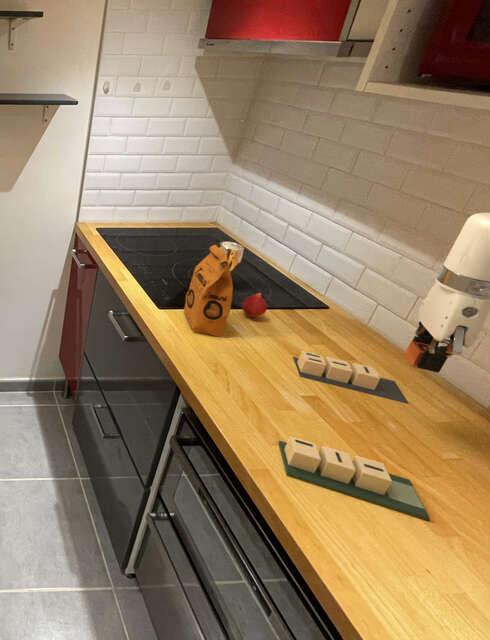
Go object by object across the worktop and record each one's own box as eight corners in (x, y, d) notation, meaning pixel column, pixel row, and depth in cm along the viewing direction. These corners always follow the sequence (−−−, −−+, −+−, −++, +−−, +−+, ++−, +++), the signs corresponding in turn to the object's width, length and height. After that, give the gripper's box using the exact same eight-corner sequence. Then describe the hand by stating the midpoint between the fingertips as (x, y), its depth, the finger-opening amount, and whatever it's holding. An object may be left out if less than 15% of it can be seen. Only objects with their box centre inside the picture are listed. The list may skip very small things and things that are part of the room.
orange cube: (429, 360, 89) (438, 345, 87) (438, 372, 85) (447, 357, 84) (403, 354, 90) (411, 340, 89) (411, 366, 87) (419, 351, 86)
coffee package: (186, 332, 121) (206, 260, 112) (179, 308, 131) (197, 241, 122) (226, 340, 118) (250, 266, 109) (216, 315, 129) (237, 246, 120)
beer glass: (218, 294, 139) (231, 251, 133) (202, 283, 146) (214, 242, 139) (236, 292, 141) (250, 249, 135) (220, 281, 147) (232, 240, 141)
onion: (240, 320, 127) (249, 296, 123) (237, 309, 132) (245, 286, 128) (264, 324, 125) (273, 300, 122) (260, 314, 130) (268, 290, 126)
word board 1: (393, 382, 104) (401, 368, 102) (408, 406, 97) (416, 391, 96) (291, 358, 111) (297, 344, 110) (299, 378, 105) (305, 364, 103)
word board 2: (408, 481, 80) (418, 465, 79) (429, 521, 74) (441, 504, 72) (278, 442, 88) (285, 426, 86) (286, 475, 81) (294, 458, 79)
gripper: (525, 309, 72) (469, 396, 79) (471, 266, 86) (428, 344, 93) (462, 297, 75) (414, 382, 82) (420, 258, 88) (382, 334, 96)
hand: (422, 361), depth 88 cm, fingers closed on orange cube, 4 cm apart
